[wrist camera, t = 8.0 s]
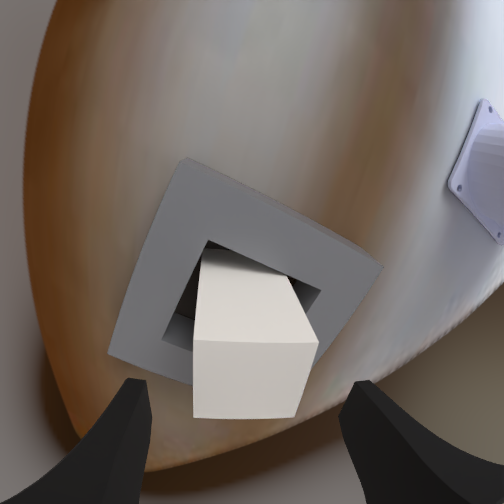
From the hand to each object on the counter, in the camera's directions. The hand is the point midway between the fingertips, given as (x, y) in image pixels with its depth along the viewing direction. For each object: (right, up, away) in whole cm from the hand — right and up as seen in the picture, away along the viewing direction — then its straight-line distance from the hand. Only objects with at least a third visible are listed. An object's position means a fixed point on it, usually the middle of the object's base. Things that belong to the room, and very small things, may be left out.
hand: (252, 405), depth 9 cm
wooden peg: (-1, +3, +8) cm, 9 cm away
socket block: (-1, +3, +8) cm, 9 cm away
